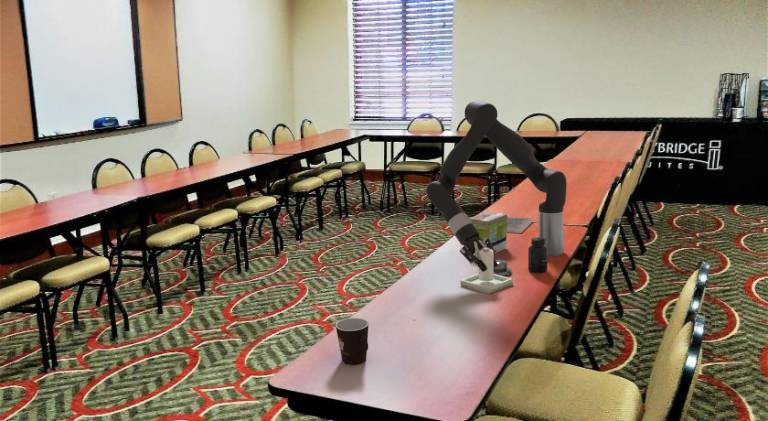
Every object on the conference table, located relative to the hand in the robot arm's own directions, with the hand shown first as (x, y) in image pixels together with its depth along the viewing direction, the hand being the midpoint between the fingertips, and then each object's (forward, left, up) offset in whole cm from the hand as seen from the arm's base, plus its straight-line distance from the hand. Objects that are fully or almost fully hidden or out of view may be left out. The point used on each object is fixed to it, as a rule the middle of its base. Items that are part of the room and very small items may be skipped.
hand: (490, 268), depth 221 cm
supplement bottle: (-24, +2, -7) cm, 25 cm away
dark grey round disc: (-13, -7, -6) cm, 16 cm away
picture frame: (-70, -46, -7) cm, 84 cm away
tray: (0, -2, -6) cm, 7 cm away
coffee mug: (+69, +11, -7) cm, 70 cm away
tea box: (-32, -28, -7) cm, 43 cm away
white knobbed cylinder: (0, -2, -4) cm, 5 cm away
